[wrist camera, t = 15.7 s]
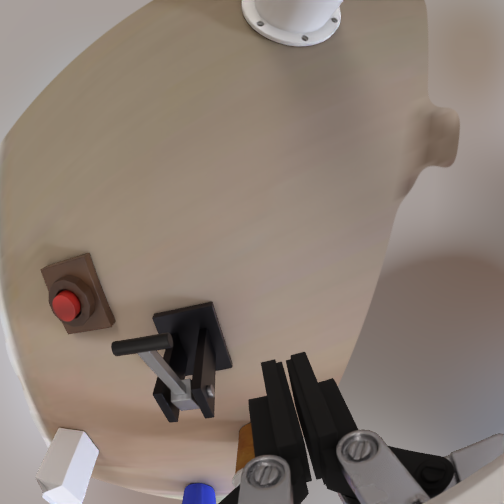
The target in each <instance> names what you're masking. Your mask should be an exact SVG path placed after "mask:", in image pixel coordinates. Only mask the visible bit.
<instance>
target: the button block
mask: <svg viewBox="0 0 504 504" xmlns="http://www.w3.org/2000/svg"><path fill="white" fill-rule="evenodd" d="M41 272H42V275H43V278H44V280H45V283H46V286H47V288H48V291H49V304H50V306H51V308H52V311H53V313H54V314H55V315H56V313H55V312H54V309H53V300H54V298H55V297H56V296H57V295H58V294H59V293H61V292H62V291H64V290H68V291H71V292H73V293H74V294H75V295H76V296H77V297H78V299H79V301H80V304H81V310H80V312H79V314H78V315H77V316H76V317H75V318H74V319H73V320H72V321H63V320H62V319H60V318H59V317H58V316H57V315H56V316H57V317H58V318H59V319H60V320H61V321H62V323H63V325H64V327H65V329H66V331H67V333H68V334H72V333H79V332H85V331H91V330H97V329H103V328H109V327H112V326H113V324H114V323H115V319H114V317H113V314H112V312H111V310H110V307H109V305H108V302H107V300H106V297H105V295H104V292H103V290H102V287H101V285H100V282H99V279H98V277H97V274H96V271H95V268H94V265H93V263H92V260H91V257H90V254H89V253H87V254H83V255H80V256H77V257H73V258H70V259H67V260H64V261H61V262H57V263H54V264H51V265H48V266H46V267H44V268H43V269H41Z"/></svg>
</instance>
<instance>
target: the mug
mask: <svg viewBox="0 0 504 504" xmlns="http://www.w3.org/2000/svg"><path fill="white" fill-rule="evenodd" d="M182 504H216V498H215V492H214V489H213V488H212V487H210V486H208V485H205V484H202V483H195V484H190V485H188V486H186V488H185V490H184V496H183V501H182Z"/></svg>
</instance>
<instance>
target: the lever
mask: <svg viewBox="0 0 504 504" xmlns="http://www.w3.org/2000/svg"><path fill="white" fill-rule="evenodd" d="M111 347H112V352H113V354H114V355H115V356H121V355H129V354H136V353H137V354H138V355H139V356H140V357H141V358H142V359H143V361H144V362H145V363H146V364H147V365H148V366H149V367H150V368H151V369H152V371H153V372H154V373H155V374H156V375H157V376H158V377H159V378H160V379H161V380H162V381H163V382H164V383H165V384H166V385H167V386H168V387H169V388H170V389H171V402H172V403H173V404H174V405H175V406H176V407H178V408H179V409H180V410H181V411H183V410H191V409H199V408H200V407H199V405H198V403H197V401H196V399H195V397H194V395H193V393H192V391H191V384H192V380H191V379H184V380H180V378H179V377H178V376H177V375H176V374H175V372H174V371H173V370H172V369H171V368H170V366H169V365H168V364H167V363H166V362H165V360H164V359H163V358H162V357H161V355H160V354H159V353H158V352H157V350H162V349H168V348H172V347H173V339H172V336H171V334H170V333H163V334H157V335H151V336H146V337H140V338H134V339H128V340H121V341H115V342H113V343H112V346H111Z"/></svg>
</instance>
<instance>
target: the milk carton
mask: <svg viewBox="0 0 504 504" xmlns="http://www.w3.org/2000/svg"><path fill="white" fill-rule="evenodd" d="M98 453H99V450H98V449H97V448H96V446H95V445H94V444H93V442H92V441H91V440H90V438H89V437H88V436H87V434H86V433H85V432H84V431H79V430H72V429H65V428H59V429H58V431H57V433H56V434H55V437H54V439H53V441H52V443H51V445H50V447H49V449H48V451H47V453H46V455H45V458H44V459H43V462H42V464H41V466H40V468H39V470H38V473H37V475H36V479H37V481H38V483H39V485H40V487H41V489H42V491H43V492H42V493H43V495H42V497H43V498H44V499H45V500H46V501H47V502H49V503H50V504H82V503H83V500H84V496H85V493H86V490H87V486H88V483H89V480H90V477H91V474H92V471H93V468H94V465H95V462H96V459H97V456H98Z"/></svg>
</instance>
